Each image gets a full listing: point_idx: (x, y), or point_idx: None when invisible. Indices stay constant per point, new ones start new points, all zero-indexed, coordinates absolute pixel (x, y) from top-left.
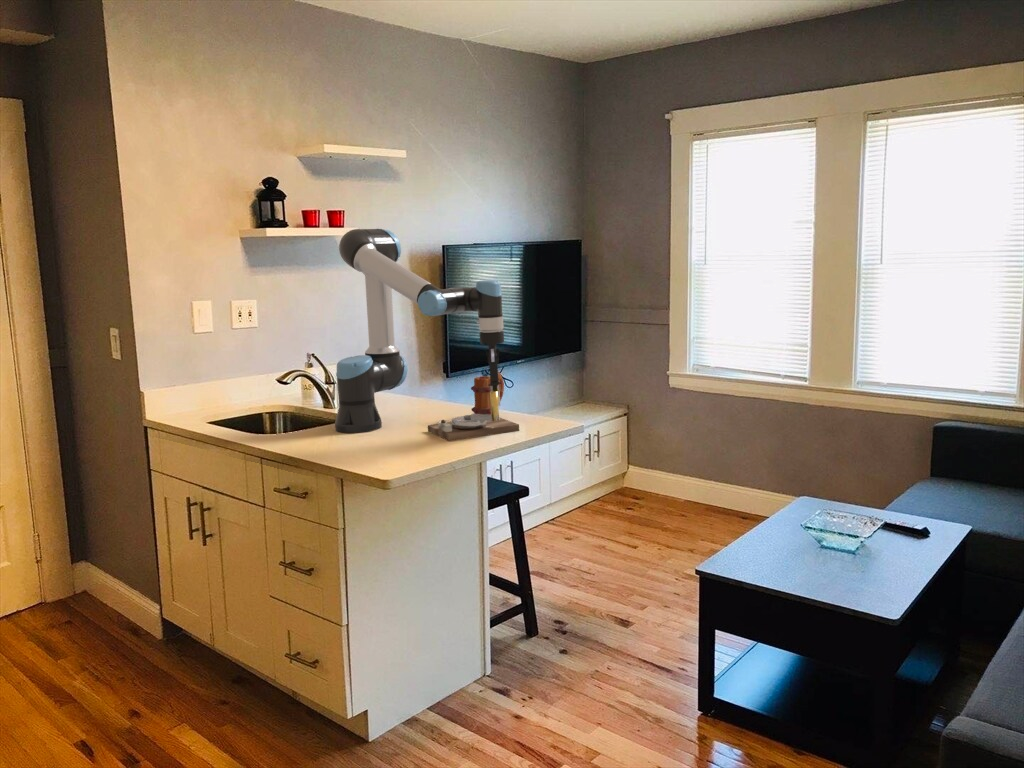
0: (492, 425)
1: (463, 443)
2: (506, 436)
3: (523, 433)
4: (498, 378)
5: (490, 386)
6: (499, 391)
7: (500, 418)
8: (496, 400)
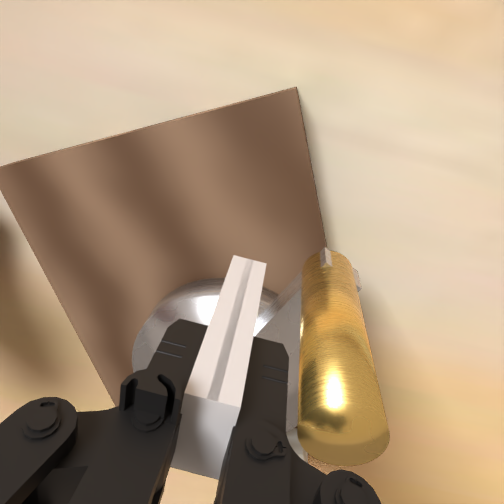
0: (255, 250)
1: (432, 397)
2: (407, 199)
3: (386, 80)
4: (45, 437)
5: (220, 471)
6: (241, 342)
7: (73, 159)
8: (370, 358)
